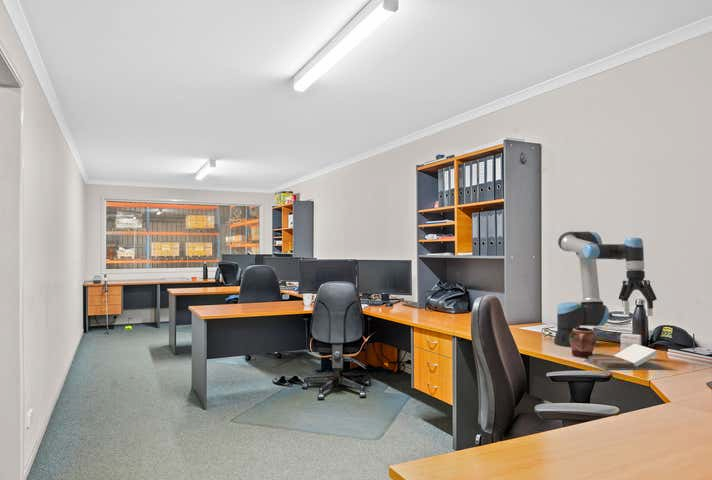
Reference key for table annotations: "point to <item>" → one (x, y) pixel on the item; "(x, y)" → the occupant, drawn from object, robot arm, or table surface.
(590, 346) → the decorative planter
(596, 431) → the table surface
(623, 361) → the walnut plank
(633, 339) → the ink box
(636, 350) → the white flat board
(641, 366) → the underlay mat
